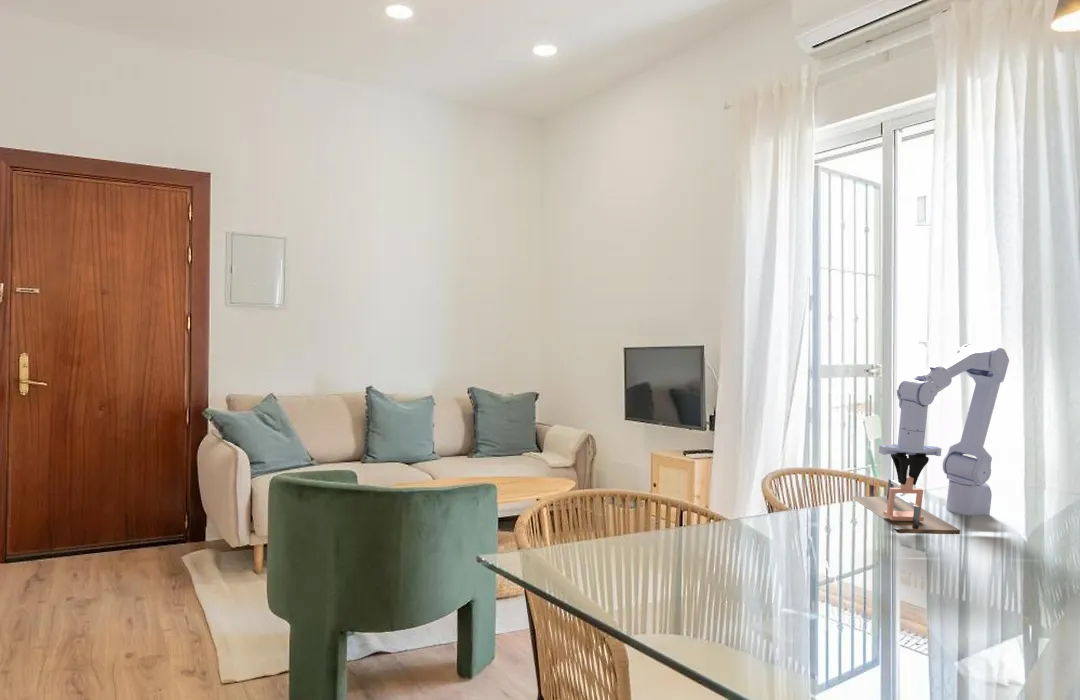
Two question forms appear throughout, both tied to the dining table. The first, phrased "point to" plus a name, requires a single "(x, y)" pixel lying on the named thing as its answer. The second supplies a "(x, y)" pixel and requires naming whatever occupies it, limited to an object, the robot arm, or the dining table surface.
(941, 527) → the base board
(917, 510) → the bent wire
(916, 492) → the frame
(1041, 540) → the dining table surface
